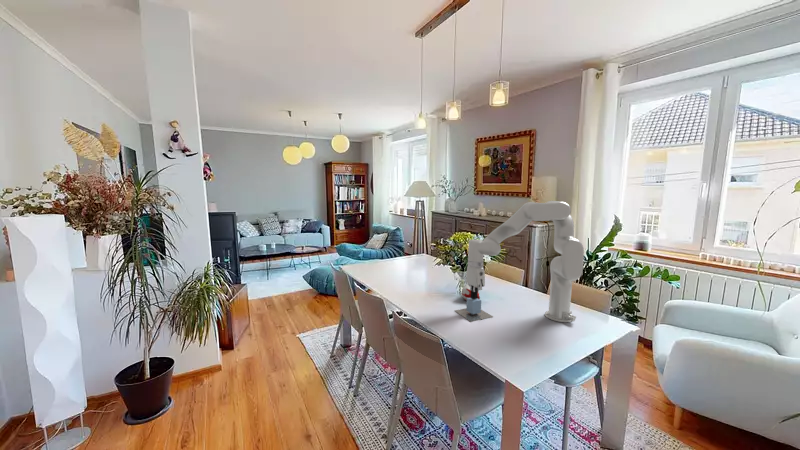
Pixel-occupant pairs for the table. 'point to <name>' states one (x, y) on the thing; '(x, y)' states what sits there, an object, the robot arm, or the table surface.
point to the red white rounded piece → (467, 292)
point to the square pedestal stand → (473, 315)
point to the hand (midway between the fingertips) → (474, 298)
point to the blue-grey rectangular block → (473, 305)
